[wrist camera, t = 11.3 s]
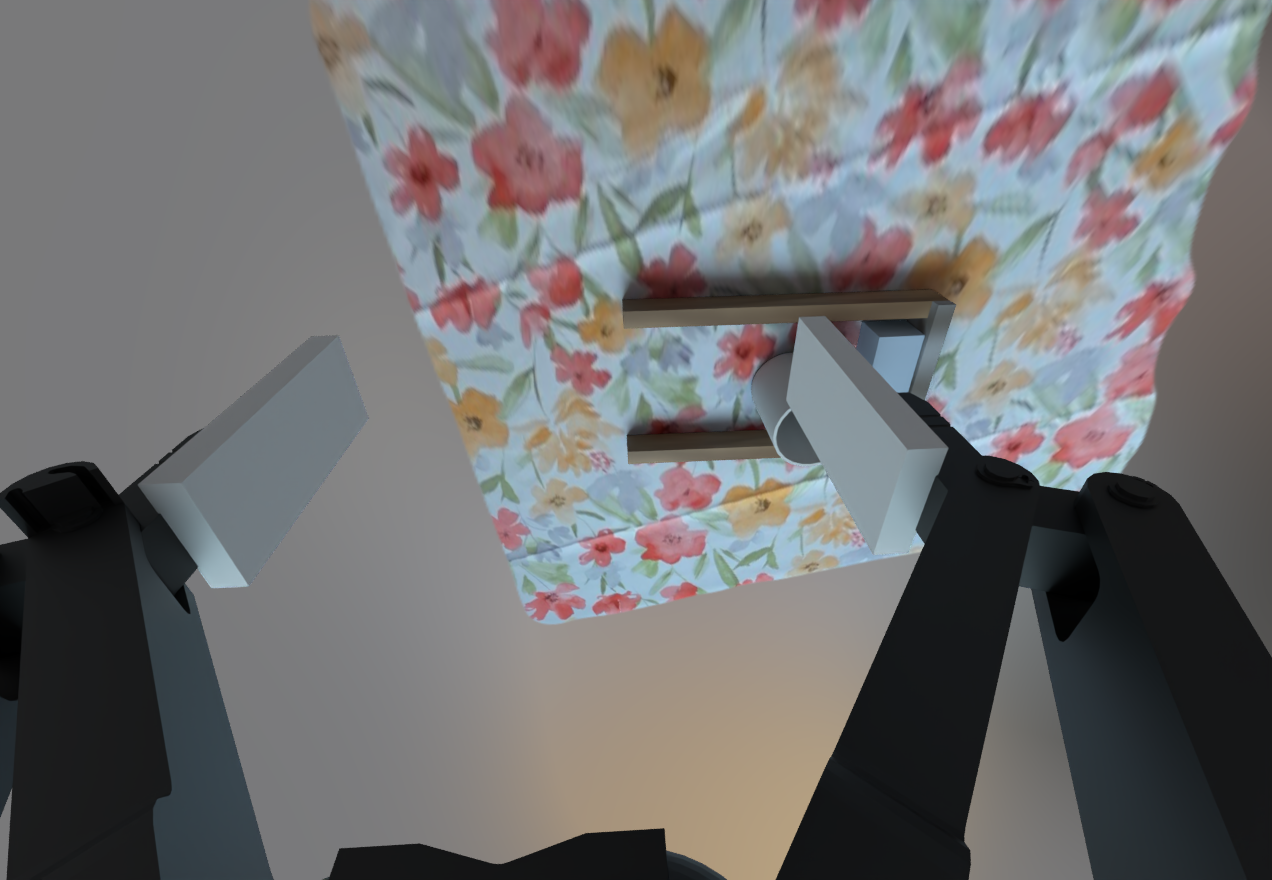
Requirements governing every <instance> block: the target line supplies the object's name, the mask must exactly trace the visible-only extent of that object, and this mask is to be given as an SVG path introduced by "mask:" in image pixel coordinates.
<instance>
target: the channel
mask: <svg viewBox="0 0 1272 880" xmlns="http://www.w3.org/2000/svg"><path fill="white" fill-rule="evenodd" d="M622 301H623V323H624V329H626V328H655V327H683V326H712V325H741V324H770V323H798V321H799V317H816V316H826V317H827V318H828V319H829V321H856V320H885V319H907V322H909V323H910V324H911V325H912V326H914V327H915V328H916V329H918V330H919V331H920V332H921V333H923V334H924V335H925V337H924V340H923V343H922V347H921V350H920V354H919V357H918V360H917V364H916V367H915V370H914V374H913V377H912V381H911V384H910V387H909V391H908V392H910V393H912V394H914V395H916V396H917V397H919V398H921V399H923V400H925V397H926V394H927V391H928V388H929V385H930V382H931V379H932V376H933V373H934V370H935V367H936V364H937V361H938V358H939V355H940V352H941V349H942V346H943V343H944V340H945V337H946V334H947V331H948V328H949V325H950V322H951V319H952V316H953V313H954V310H955V307H956V304H954V303H953V302H951V301H950V300H948V299H946V298H945V297H943V296H942V295H940V294H938V293H937V292H935V291H934V290H932V289H928V290H898V291H868V292H838V293H808V294H778V295H748V296H718V297H687V298H657V299H627V300H622ZM627 449H628V464H640V463H664V462H688V461H712V460H736V459H760V458H781V457H780V456H779V455H778V454H777V451H776V449H775V447H774V445H773V443H772V441H771V439H770V436H769V434H768V432H767V430H747V431H722V432H697V433H672V434H648V435H627Z"/></svg>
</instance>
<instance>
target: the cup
mask: <svg viewBox="0 0 1272 880" xmlns="http://www.w3.org/2000/svg"><path fill="white" fill-rule="evenodd" d="M792 359H793V353H786V354H781V355H778V356H776V357H774V358H772V359H770V360H769V361H768V362H766V363H765V364H764V365H762V367H761V368H760V369H759V370H758V372H757V373H756V375H755V377H754V379H753V381H752V387H751V393H752V399H753V402H754V404H755V406H756V408H757V410H758V413H759V415H760V417H761V419H762V421H763V423H764V426H765V428H766V430H767V432H768V434H769V436H770V439H771V441H772V443H773V445H774V447H775V449H776V451H777V454H778V455H779V456H780V457H781V458H782V459H783V460H785V461H787V462H789V463H790V464H793V465H798V466H815V465H820V464H822V463H821V462H820V460H819V458H818V456H817V454H816V453H815V451H814V449H813V447H812V446H811V444H810V442H809V440H808V438H807V437H806V435H805V433H804V431H803V430H802V428H801V426H800V424H799V422H798V421H797V419H796V417H795V415H794V414H793V412H792V410H791V408H790V406H789V405H788V403H787V401H786V397H787V391H788V384H789V378H790V372H791V365H792Z"/></svg>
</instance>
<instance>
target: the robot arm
mask: <svg viewBox="0 0 1272 880" xmlns="http://www.w3.org/2000/svg"><path fill="white" fill-rule="evenodd" d="M786 401H787V403H788V405H789V406H790V408H791V410H792V412H793V414H794V415H795V417H796V419H797V421H798V422H799V424H800V426H801V428H802V430H803V431H804V433H805V435H806V437H807V438H808V440H809V442H810V444H811V446H812V447H813V449H814V451H815V453H816V454H817V456H818V458H819V460H820V462H821V463H822V465H823V467H824V469H825V470H826V472H827V474H828V476H829V478H830V479H831V481H832V483H833V485H834V486H835V488H836V490H837V492H838V493H839V495H840V497H841V499H842V501H843V502H844V504H845V506H846V508H847V509H848V511H849V513H850V515H851V517H852V518H853V520H854V522H855V524H856V525H857V527H858V529H859V531H860V533H861V534H862V536H863V538H864V540H865V541H866V543H867V545H868V547H869V549H870V550H871V552H872V554H873V555H883V554H903V553H909V551H910V548H911V545H912V543H913V540H914V537H915V535H916V532H917V533H918V535H919V536H920V538H921V539H922V541H923V542H924V543H925V545H924V547H923V549H922V551H921V554H920V556H919V558H918V561H917V563H916V565H915V567H914V570H913V572H912V574H911V577H910V579H909V581H908V584H907V586H906V588H905V590H904V593H903V595H902V597H901V599H900V602H899V604H898V606H897V608H896V611H895V613H894V615H893V618H892V620H891V622H890V625H889V627H888V629H887V631H886V634H885V636H884V638H883V640H882V643H881V645H880V647H879V650H878V652H877V654H876V657H875V659H874V661H873V663H872V665H871V668H870V670H869V672H868V675H867V677H866V679H865V682H864V684H863V686H862V688H861V691H860V693H859V695H858V698H857V700H856V702H855V704H854V707H853V709H852V711H851V713H850V716H849V718H848V720H847V723H846V725H845V727H844V729H843V732H842V734H841V736H840V739H839V741H838V743H837V745H836V748H835V750H834V752H833V754H832V756H831V757H830V759H829V761H828V763H827V765H826V767H825V769H824V771H823V774H822V776H821V778H820V781H819V783H818V785H817V787H816V790H815V792H814V794H813V796H812V798H811V801H810V803H809V805H808V808H807V810H806V812H805V814H804V817H803V819H802V821H801V823H800V826H799V828H798V830H797V833H796V835H795V837H794V840H793V842H792V844H791V846H790V849H789V851H788V853H787V855H786V857H785V860H784V862H783V865H782V867H781V869H780V871H779V873H778V876H777V878H776V880H968V879H969V872H970V866H971V862H970V861H971V859H970V849H969V848H968V847H967V845H966V844H965V843H964V833H965V827H966V822H967V817H968V813H969V808H970V803H971V799H972V795H973V790H974V786H975V781H976V777H977V772H978V768H979V763H980V759H981V754H982V750H983V745H984V741H985V736H986V731H987V727H988V722H989V718H990V713H991V709H992V705H993V700H994V695H995V691H996V686H997V682H998V678H999V673H1000V668H1001V664H1002V659H1003V655H1004V650H1005V646H1006V641H1007V637H1008V632H1009V628H1010V623H1011V618H1012V614H1013V610H1014V605H1015V601H1016V596H1017V592H1018V587H1019V586H1021V587H1026V588H1031V590H1032V595H1033V599H1034V604H1035V609H1036V613H1037V618H1038V622H1039V627H1040V632H1041V637H1042V641H1043V646H1044V651H1045V655H1046V659H1047V664H1048V669H1049V674H1050V679H1051V683H1052V688H1053V692H1054V697H1055V702H1056V706H1057V711H1058V716H1059V720H1060V725H1061V730H1062V734H1063V739H1064V744H1065V748H1066V753H1067V758H1068V762H1069V767H1070V771H1071V776H1072V780H1073V785H1074V790H1075V794H1076V799H1077V804H1078V809H1079V813H1080V818H1081V822H1082V827H1083V832H1084V836H1085V841H1086V846H1087V850H1088V855H1089V859H1090V864H1091V869H1092V874H1093V878H1094V880H1272V657H1271V656H1270V654H1269V652H1268V651H1267V649H1266V647H1265V646H1264V644H1263V642H1262V641H1261V639H1260V637H1259V636H1258V634H1257V632H1256V631H1255V629H1254V627H1253V626H1252V624H1251V622H1250V621H1249V619H1248V618H1247V616H1246V614H1245V612H1244V611H1243V609H1242V608H1241V606H1240V604H1239V602H1238V601H1237V599H1236V597H1235V596H1234V594H1233V592H1232V591H1231V589H1230V587H1229V586H1228V584H1227V582H1226V581H1225V579H1224V577H1223V576H1222V574H1221V573H1220V571H1219V569H1218V568H1217V566H1216V564H1215V563H1214V561H1213V560H1212V558H1211V556H1210V554H1209V553H1208V551H1207V549H1206V548H1205V546H1204V544H1203V543H1202V541H1201V539H1200V538H1199V536H1198V535H1197V533H1196V531H1195V529H1194V528H1193V526H1192V524H1191V523H1190V521H1189V520H1188V518H1187V516H1186V514H1185V513H1184V511H1183V509H1182V508H1181V506H1180V504H1179V503H1178V502H1177V501H1176V500H1175V499H1174V498H1173V497H1172V496H1171V495H1170V494H1168V493H1167V492H1165V491H1164V490H1162V489H1161V488H1159V487H1158V486H1157V485H1155V484H1153V483H1151V482H1149V481H1145V480H1144V479H1141V478H1138V477H1135V476H1133V477H1132V476H1128V475H1124V474H1120V473H1110V472H1103V473H1096V474H1093V475H1092V476H1090V477H1089V478H1087V480H1086V482H1085V484H1084V485H1083V487H1082V489H1081V490H1080V492H1078V491H1071V490H1064V489H1058V488H1051V487H1044V486H1040V485H1039V481H1038V480H1037V479H1036V477H1035V476H1034V475H1033V474H1032V473H1031V472H1030V471H1028V470H1026V469H1025V468H1023V467H1022V466H1020V465H1018V464H1016V463H1013V462H1011V461H1008V460H1006V459H1002V458H997V457H993V456H982V455H981V454H980V453H979V452H978V451H977V450H976V449H975V448H974V447H973V446H972V445H971V444H970V443H969V442H968V441H967V440H966V439H965V438H964V437H963V436H962V435H961V434H960V433H959V432H958V431H957V430H956V429H954V428H953V427H950V424H949V423H948V422H947V421H946V420H945V419H944V418H943V417H940V414H939V413H938V412H937V411H936V410H935V409H934V408H933V407H932V406H931V405H930V404H929V403H928V402H927V401H925V400H923V399H921V398H919V397H917V396H916V395H914V394H912V393H910V392H901V393H897V392H896V391H895V390H894V389H893V388H892V387H891V386H890V385H889V384H888V383H887V382H886V380H885V379H884V378H883V377H882V376H881V375H880V374H879V373H878V372H877V371H876V370H875V369H874V368H873V367H872V365H871V364H870V363H869V362H868V361H867V360H866V359H865V358H864V357H863V356H862V355H861V354H860V353H859V352H858V350H857V349H856V348H855V347H854V346H853V345H852V344H851V343H850V342H849V341H848V340H847V339H846V338H845V337H844V336H843V334H842V333H841V332H840V331H839V330H838V329H837V328H836V327H835V326H834V325H833V324H832V323H831V322H830V321H829V319H828V318H827V317H826V316H816V317H799V321H798V327H797V334H796V340H795V346H794V353H793V359H792V365H791V372H790V378H789V384H788V391H787V397H786ZM368 419H369V417H368V414H367V411H366V409H365V406H364V403H363V400H362V398H361V395H360V392H359V390H358V387H357V384H356V381H355V378H354V376H353V373H352V370H351V367H350V365H349V362H348V359H347V356H346V354H345V351H344V348H343V346H342V343H341V340H340V337H339V335H335V336H312V337H310V338H309V339H308V340H307V341H305V342H304V343H303V344H302V345H301V346H300V347H298V348H297V349H296V350H295V351H294V352H293V353H291V354H290V355H289V356H288V357H287V358H286V359H284V360H283V361H282V362H281V363H280V364H278V365H277V366H276V367H275V368H274V369H273V370H271V372H269V373H268V374H267V375H266V376H264V377H263V378H262V379H261V380H260V381H259V382H258V383H256V384H255V385H254V386H253V387H252V388H250V389H249V390H248V391H247V392H246V393H244V394H243V395H242V396H241V397H240V398H239V399H237V400H236V401H235V402H234V403H233V404H232V405H231V406H229V407H228V408H227V409H226V410H225V411H223V412H222V413H221V414H220V415H219V416H218V417H216V418H215V419H214V420H213V421H212V422H211V423H209V424H208V425H207V426H206V427H205V428H203V429H201V430H199V431H197V432H195V433H193V434H192V435H190V436H188V437H187V438H186V439H185V440H184V441H182V442H181V443H180V444H179V445H177V446H176V447H175V448H174V449H173V450H172V453H168V454H167V455H166V456H164V457H163V458H162V459H161V460H160V461H159V464H155V465H154V466H152V467H151V468H150V469H149V470H148V471H147V472H145V473H144V474H143V475H142V476H141V477H139V478H138V479H137V480H136V481H135V482H133V483H132V484H131V485H130V486H129V487H127V488H126V489H125V490H124V491H123V492H122V493H120V494H119V495H118V494H117V492H116V491H115V490H114V488H113V487H112V486H111V484H110V483H109V482H108V480H107V479H106V478H105V476H104V475H103V474H102V472H101V471H100V470H99V469H98V467H97V466H96V465H95V464H94V463H90V462H84V461H81V462H72V463H65V464H61V465H57V466H54V467H49V468H46V469H44V470H41V471H39V472H36V473H33V474H31V475H28V476H26V477H25V478H23V479H21V480H19V481H17V482H15V483H13V484H12V485H10V486H9V487H8V488H6V489H5V490H4V491H2V492H1V493H0V508H1V509H2V510H3V511H4V512H5V513H6V514H7V516H8V517H9V518H10V519H11V520H12V521H13V522H14V523H15V524H16V525H17V526H18V527H19V528H20V529H21V530H22V532H23V533H24V534H25V535H26V536H27V537H28V539H24V540H20V541H15V542H11V543H7V544H2V545H0V817H1V814H2V812H3V809H4V806H5V804H6V802H7V799H8V796H9V794H10V791H11V789H12V803H11V817H10V834H9V849H8V866H7V880H274V879H273V876H272V873H271V871H270V867H269V864H268V860H267V857H266V853H265V849H264V846H263V842H262V839H261V835H260V832H259V828H258V824H257V821H256V817H255V813H254V810H253V806H252V803H251V799H250V795H249V792H248V789H247V785H246V781H245V778H244V774H243V770H242V767H241V763H240V759H239V756H238V753H237V749H236V745H235V741H234V738H233V734H232V731H231V727H230V723H229V720H228V716H227V713H226V709H225V706H224V702H223V698H222V695H221V691H220V688H219V684H218V680H217V677H216V674H215V669H214V666H213V663H212V659H211V655H210V652H209V648H208V644H207V641H206V637H205V634H204V630H203V626H202V623H201V619H200V616H199V612H198V608H197V605H196V601H195V598H194V595H193V593H192V592H191V591H190V590H189V588H188V587H187V586H186V584H185V582H186V581H187V580H188V579H189V577H190V576H191V575H192V574H193V573H194V571H195V570H196V569H198V570H199V572H200V573H201V574H202V576H203V577H204V578H205V580H206V581H207V583H208V584H209V585H210V587H211V588H228V587H245V586H246V587H248V586H250V584H251V583H252V582H253V580H254V579H255V577H256V576H257V575H258V573H259V572H260V570H261V569H262V568H263V566H264V565H265V563H266V562H267V560H268V559H269V558H270V556H271V555H272V554H273V552H274V551H275V549H276V548H277V547H278V545H279V544H280V542H281V541H282V539H283V538H284V537H285V535H286V534H287V532H288V531H289V530H290V528H291V527H292V525H293V524H294V523H295V521H296V520H297V518H298V517H299V515H300V514H301V513H302V511H303V510H304V509H305V507H306V506H307V504H308V503H309V502H310V500H311V499H312V497H313V496H314V495H315V493H316V492H317V490H318V489H319V488H320V486H321V485H322V483H323V482H324V481H325V479H326V477H327V476H328V475H329V474H330V472H331V471H332V469H333V468H334V467H335V465H336V464H337V462H338V461H339V459H340V458H341V457H342V455H343V454H344V452H345V451H346V450H347V448H348V447H349V446H350V444H351V443H352V441H353V440H354V438H355V437H356V435H357V434H358V432H359V431H360V430H361V428H362V427H363V426H364V424H365V423H366V422H367V420H368ZM323 880H727V879H725V878H724V877H723V876H722V875H720V874H719V873H717V872H715V871H714V870H712V869H710V868H709V867H707V866H706V865H704V864H702V863H700V862H698V861H695V860H693V859H691V858H688V857H686V856H684V855H680V854H677V853H673V852H670V851H666V843H665V830H664V828H663V829H648V830H632V831H631V830H630V831H614V832H599V833H585V834H582V835H580V836H577V837H574V838H572V839H569V840H566V841H564V842H561V843H558V844H556V845H553V846H551V847H548V848H545V849H542V850H540V851H537V852H534V853H532V854H529V855H526V856H524V857H521V858H518V859H516V860H513V861H510V862H507V863H504V864H492V863H488V862H484V861H481V860H477V859H474V858H470V857H466V856H462V855H459V854H456V853H452V852H448V851H445V850H441V849H437V848H433V847H430V846H427V845H423V844H405V845H391V846H373V847H357V848H341V849H339V851H338V854H337V857H336V860H335V863H334V866H333V869H332V872H331V874H330V877H328V878H325V879H323Z"/></svg>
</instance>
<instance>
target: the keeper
mask: <svg viewBox="0 0 1272 880" xmlns="http://www.w3.org/2000/svg"><path fill="white" fill-rule="evenodd" d="M924 337H925V335H924V334H923V333H921V332H920V331H919V330H918V329H916V328H915V327H914V326H912V325H911V324H910V323H909V322H907V321H906V320H905V319H903V320H882V321H862V325H861V329H860V334H859V339H858V343H857V348H856V349H857V350H858V352H859V353H860V354H861V355H862V356H863V357H864V358H865V359H866V360H867V361H868V362H869V363H870V364H871V365H872V367H873V368H874V369H875V370H876V371H877V372H878V373H879V374H880V375H881V376H882V377H883V378H884V379H885V380H886V382H887V383H888V384H889V385H890V386H891V387H892V388H893V389H894V390H895V391H896V392H897V393H901V392H908V391H909V387H910V384H911V381H912V377H913V374H914V370H915V367H916V364H917V360H918V357H919V354H920V350H921V347H922V343H923V340H924Z"/></svg>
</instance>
